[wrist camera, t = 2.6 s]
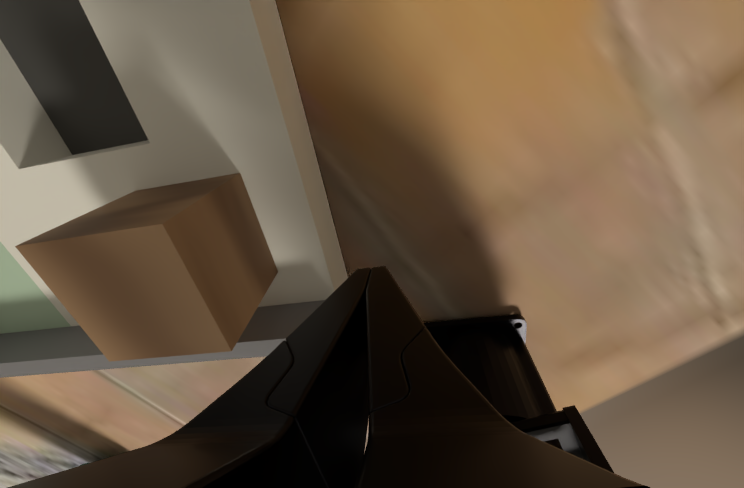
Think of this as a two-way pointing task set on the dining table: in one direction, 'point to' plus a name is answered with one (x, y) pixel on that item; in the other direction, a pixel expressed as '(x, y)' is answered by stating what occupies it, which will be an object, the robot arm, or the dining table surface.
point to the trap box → (151, 152)
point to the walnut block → (160, 269)
